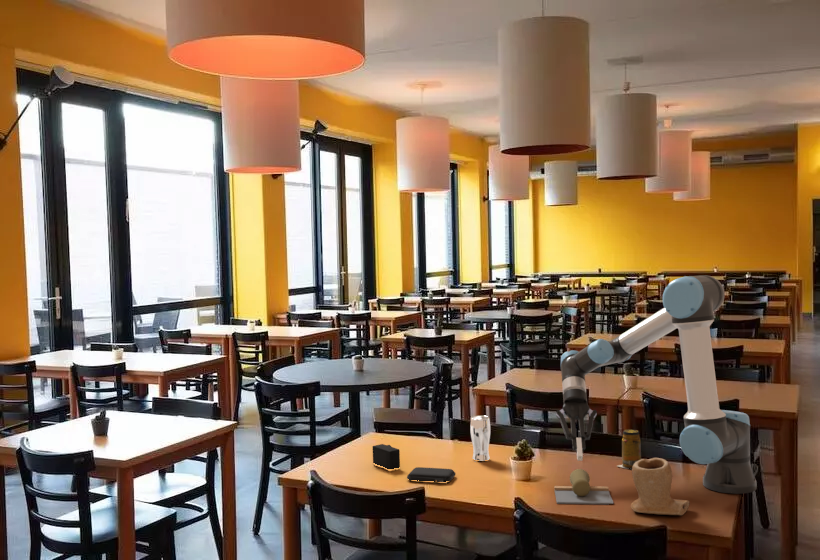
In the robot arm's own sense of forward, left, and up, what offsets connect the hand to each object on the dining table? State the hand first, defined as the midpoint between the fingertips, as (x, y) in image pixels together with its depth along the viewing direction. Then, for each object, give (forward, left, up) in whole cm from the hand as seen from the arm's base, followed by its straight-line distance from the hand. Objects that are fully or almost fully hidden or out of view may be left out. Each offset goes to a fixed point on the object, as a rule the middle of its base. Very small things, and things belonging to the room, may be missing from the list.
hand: (580, 458), depth 241 cm
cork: (+1, 0, -7) cm, 7 cm away
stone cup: (-28, -8, -10) cm, 30 cm away
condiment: (+13, -29, -10) cm, 33 cm away
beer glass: (+43, +13, -10) cm, 46 cm away
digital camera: (+49, +46, -10) cm, 68 cm away
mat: (-7, +3, -10) cm, 12 cm away
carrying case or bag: (+29, +38, -10) cm, 49 cm away
